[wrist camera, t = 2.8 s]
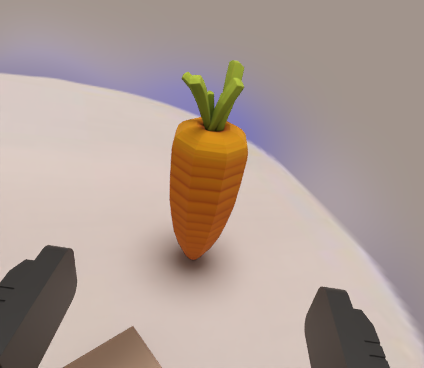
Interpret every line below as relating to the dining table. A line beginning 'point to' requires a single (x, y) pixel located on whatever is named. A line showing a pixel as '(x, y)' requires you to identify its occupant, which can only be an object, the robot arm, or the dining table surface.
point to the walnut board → (119, 353)
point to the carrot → (206, 165)
